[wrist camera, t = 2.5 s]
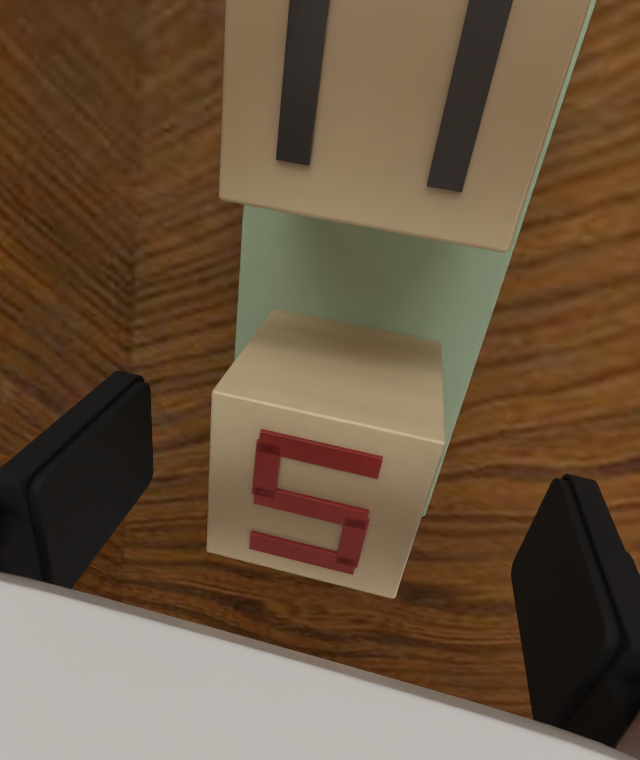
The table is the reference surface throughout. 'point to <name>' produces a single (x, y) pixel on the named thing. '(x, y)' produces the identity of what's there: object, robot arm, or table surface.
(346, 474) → the tile
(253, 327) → the mat
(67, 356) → the table surface
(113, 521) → the robot arm
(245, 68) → the tile
